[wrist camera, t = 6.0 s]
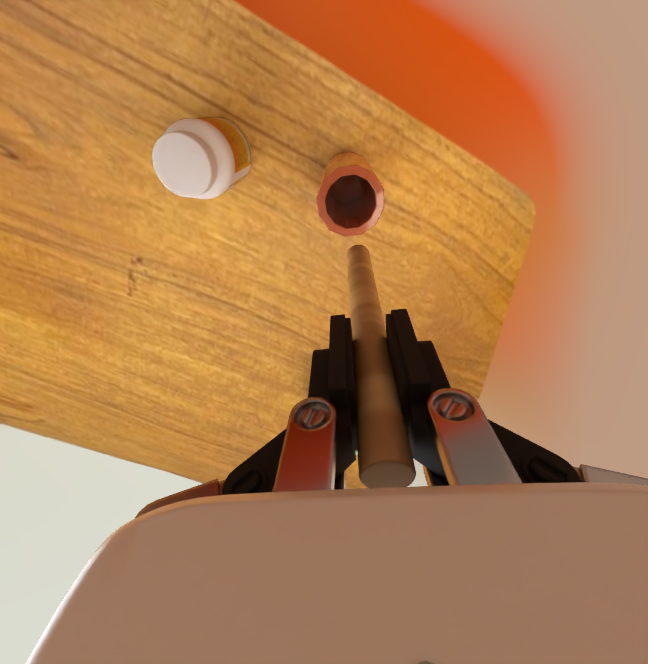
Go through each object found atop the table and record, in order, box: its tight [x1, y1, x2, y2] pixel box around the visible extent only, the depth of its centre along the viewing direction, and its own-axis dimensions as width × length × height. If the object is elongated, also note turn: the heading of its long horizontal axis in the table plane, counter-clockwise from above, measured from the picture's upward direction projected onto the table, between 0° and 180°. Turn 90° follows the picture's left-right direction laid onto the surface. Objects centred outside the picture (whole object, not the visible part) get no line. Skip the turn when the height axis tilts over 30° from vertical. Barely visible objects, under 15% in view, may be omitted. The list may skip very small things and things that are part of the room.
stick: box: [347, 245, 416, 488], centre depth 14 cm, size 1×1×15 cm
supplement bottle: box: [152, 117, 252, 199], centre depth 25 cm, size 5×5×10 cm
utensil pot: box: [317, 153, 384, 236], centre depth 27 cm, size 5×5×9 cm
